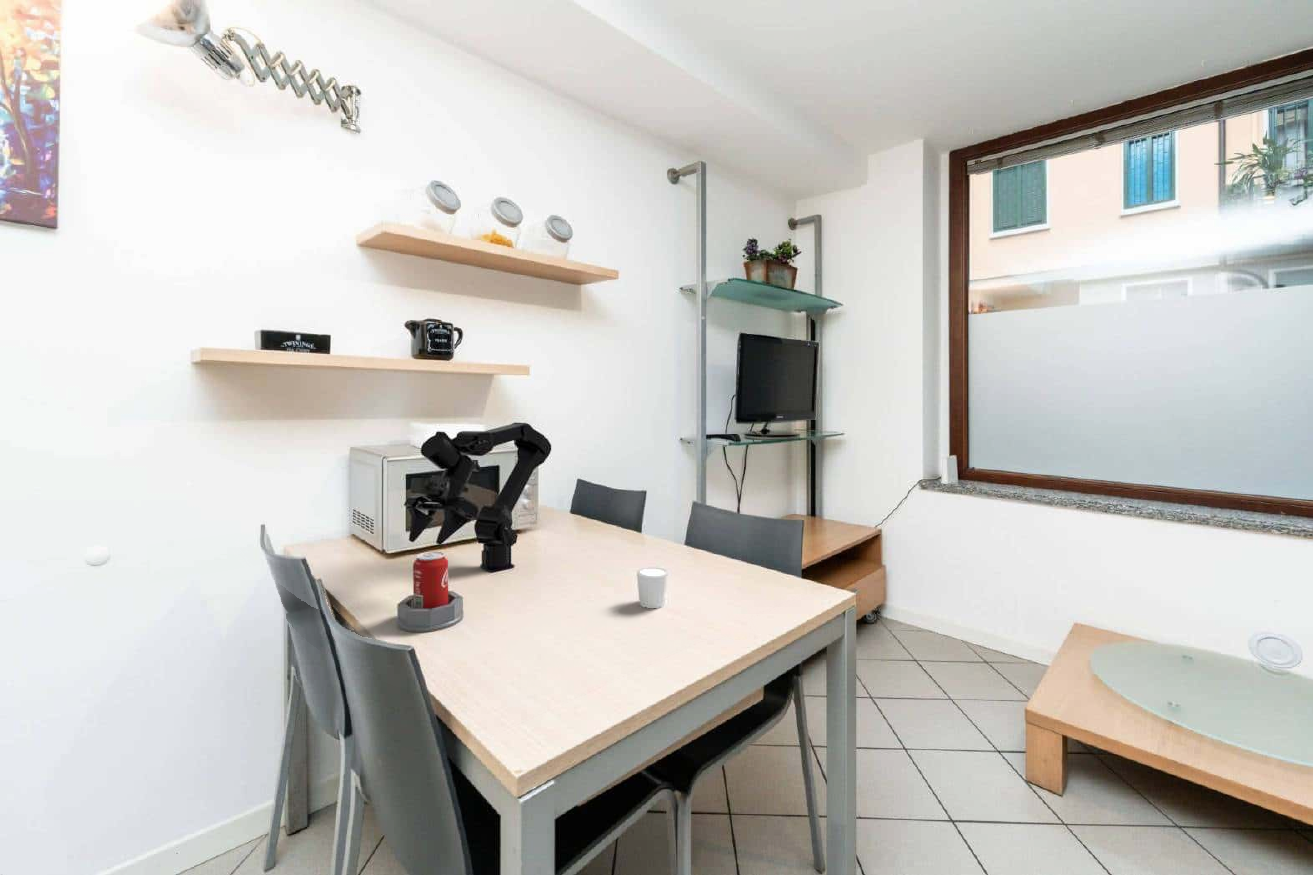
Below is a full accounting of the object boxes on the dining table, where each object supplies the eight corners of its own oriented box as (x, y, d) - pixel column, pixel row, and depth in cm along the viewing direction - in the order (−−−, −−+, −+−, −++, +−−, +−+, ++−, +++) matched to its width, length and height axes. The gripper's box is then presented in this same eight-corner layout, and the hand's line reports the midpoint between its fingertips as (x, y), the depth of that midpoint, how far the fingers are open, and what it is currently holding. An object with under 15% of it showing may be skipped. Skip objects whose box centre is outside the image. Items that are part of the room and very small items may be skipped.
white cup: (635, 598, 122) (636, 567, 121) (666, 597, 122) (667, 566, 122) (637, 610, 115) (637, 577, 114) (670, 609, 115) (670, 576, 115)
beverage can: (454, 615, 109) (453, 555, 108) (421, 624, 104) (420, 561, 103) (440, 606, 113) (439, 548, 112) (408, 614, 109) (407, 554, 108)
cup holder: (447, 603, 117) (447, 585, 117) (474, 620, 108) (473, 601, 108) (387, 618, 109) (387, 599, 108) (411, 638, 100) (411, 617, 100)
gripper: (402, 462, 126) (368, 525, 119) (456, 460, 117) (423, 529, 109) (438, 485, 134) (408, 545, 127) (492, 485, 125) (463, 551, 117)
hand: (424, 542), depth 120 cm, fingers open, 9 cm apart
